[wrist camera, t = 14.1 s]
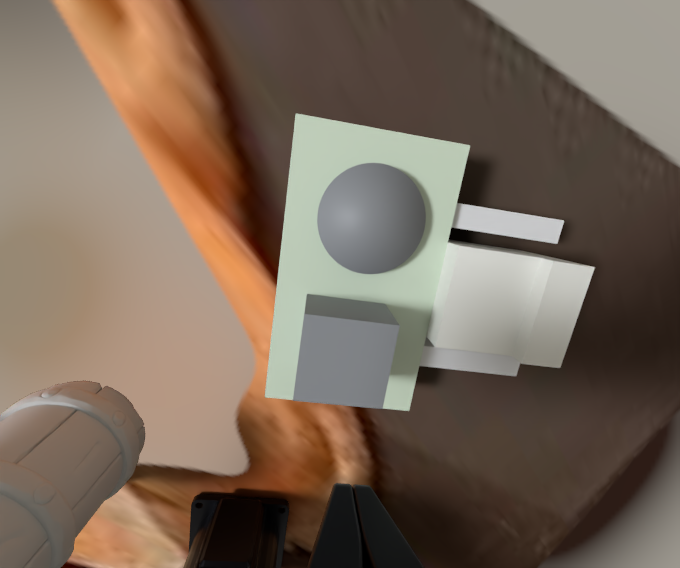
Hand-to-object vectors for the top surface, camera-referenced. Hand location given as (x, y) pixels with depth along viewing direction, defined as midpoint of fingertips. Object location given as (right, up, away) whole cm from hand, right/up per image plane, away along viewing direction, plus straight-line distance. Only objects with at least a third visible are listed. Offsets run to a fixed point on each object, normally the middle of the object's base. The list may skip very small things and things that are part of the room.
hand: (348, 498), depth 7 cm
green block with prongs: (+4, +5, +12) cm, 13 cm away
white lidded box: (+8, +5, +12) cm, 15 cm away
